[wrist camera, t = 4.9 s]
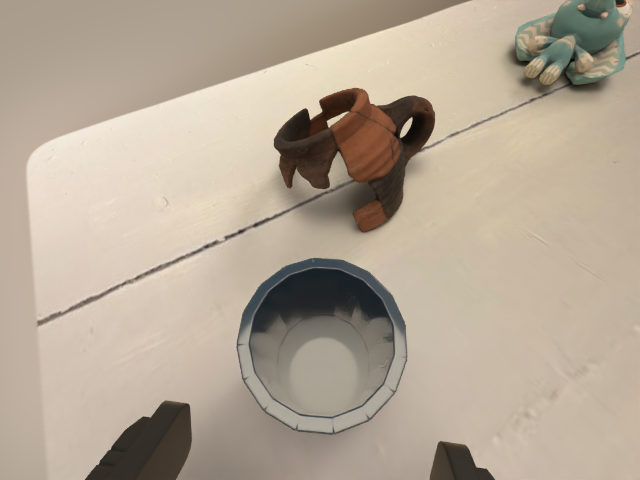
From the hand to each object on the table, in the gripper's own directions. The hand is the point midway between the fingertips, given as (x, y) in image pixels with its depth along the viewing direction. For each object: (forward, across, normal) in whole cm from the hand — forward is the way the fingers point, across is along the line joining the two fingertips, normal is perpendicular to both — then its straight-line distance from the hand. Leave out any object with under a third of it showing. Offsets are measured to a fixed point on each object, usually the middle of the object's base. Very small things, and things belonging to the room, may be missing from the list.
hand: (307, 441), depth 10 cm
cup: (+8, 0, +3) cm, 9 cm away
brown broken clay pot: (+19, -1, -7) cm, 20 cm away
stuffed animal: (+32, -21, -20) cm, 43 cm away
